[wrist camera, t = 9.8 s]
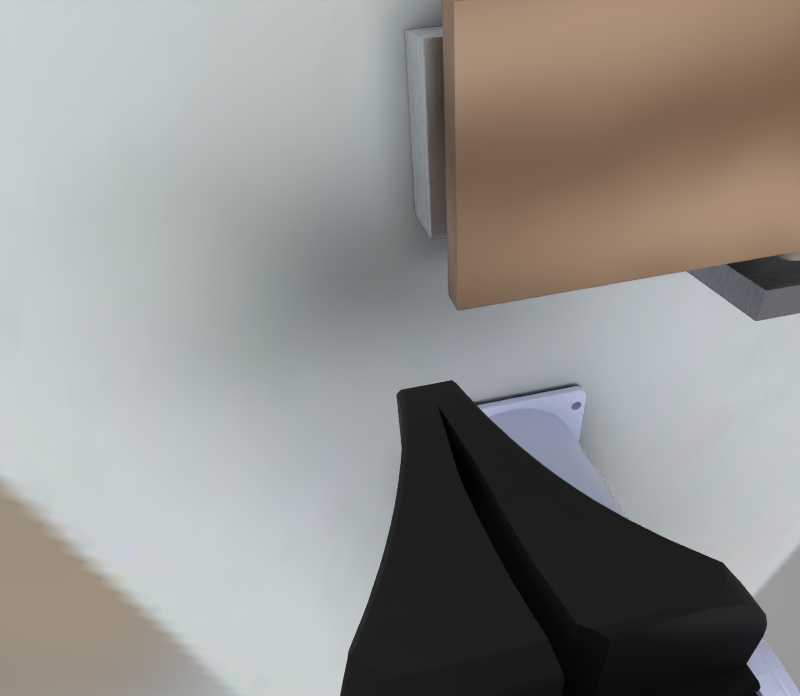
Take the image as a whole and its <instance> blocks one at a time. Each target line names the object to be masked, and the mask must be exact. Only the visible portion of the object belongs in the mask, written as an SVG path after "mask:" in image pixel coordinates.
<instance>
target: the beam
mask: <svg viewBox="0 0 800 696" xmlns="http://www.w3.org/2000/svg"><path fill="white" fill-rule="evenodd" d="M442 28H443V71H444V115H445V158H446V202H447V245H448V289H449V296H450V298H451V300H452V302H453V303H454V305H455V307H456V309H457V310H458V311H459V310H465V309H471V308H476V307H482V306H488V305H493V304H499V303H505V302H511V301H516V300H522V299H528V298H534V297H539V296H545V295H551V294H557V293H562V292H568V291H574V290H580V289H585V288H591V287H597V286H603V285H608V284H614V283H620V282H626V281H631V280H637V279H643V278H649V277H654V276H660V275H666V274H672V273H677V272H683V271H689V270H695V269H700V268H706V267H712V266H718V265H723V264H729V263H735V262H741V261H746V260H752V259H758V258H764V257H769V256H775V255H776V256H778V257H780V258H782V259H785V260H791V261H800V0H442Z"/></svg>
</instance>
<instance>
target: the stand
mask: <svg viewBox="0 0 800 696" xmlns="http://www.w3.org/2000/svg"><path fill="white" fill-rule="evenodd" d="M405 44H406V61H407V78H408V96H409V113H410V130H411V148H412V165H413V182H414V199H415V214H416V215H417V217H418V219H419V220H420V222H421V223H422V225H423V227H424V228H425V230H426V232H427V233H428V235H429V237H430V238H431V240H435V239H442V238H447V202H446V158H445V115H444V71H443V28H442V26H439V27H430V28H420V29H411V30H405ZM687 272H688V273H690V274H691V275H692V276H694V277H695V278H697V279H698V280H699V281H701V282H702V283H703V284H705V285H706V286H708V287H709V288H710V289H712V290H713V291H715V292H716V293H717V294H719V295H720V296H721V297H723V298H724V299H726V300H727V301H728V302H730V303H731V304H733V305H734V306H735V307H737V308H738V309H740V310H741V311H742V312H744V313H745V314H746V315H748V316H749V317H751V318H752V319H753V320H755V321H759V320H765V319H770V318H775V317H781V316H786V315H792V314H797V313H800V261H791V260H785V259H782V258H780V257H778V256H776V255H775V256H769V257H764V258H758V259H752V260H746V261H741V262H735V263H729V264H723V265H718V266H712V267H706V268H700V269H695V270H689V271H687Z"/></svg>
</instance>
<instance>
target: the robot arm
mask: <svg viewBox="0 0 800 696" xmlns="http://www.w3.org/2000/svg"><path fill="white" fill-rule="evenodd" d="M585 402H586V392H585V391H584V390H583V388H582V387H580V386H574V387H569V388H564V389H559V390H554V391H549V392H543V393H538V394H533V395H528V396H523V397H518V398H512V399H507V400H502V401H497V402H492V403H487V404H481V405H476V404H475V403H474V402H473V401H472V400H471V399H470V398H469V397H468V396H467V395H466V394H465V392H464V391H463V390H462V389H461V388H460V387H459V386H458V385H457V384H456V383H455V382H454V381H452V380H451V381H445V382H440V383H435V384H429V385H424V386H419V387H413V388H408V389H403V390H400V391H399V392H398V394H397V404H398V414H399V424H400V434H401V445H402V454H401V465H400V473H399V482H398V489H397V495H396V501H395V507H394V512H393V516H392V521H391V526H390V530H389V534H388V538H387V542H386V546H385V550H384V553H383V557H382V561H381V564H380V567H379V570H378V573H377V576H376V579H375V582H374V585H373V588H372V591H371V594H370V598H369V601H368V603H367V606H366V609H365V611H364V614H363V616H362V619H361V621H360V624H359V626H358V629H357V631H356V634H355V636H354V639H353V641H352V644H351V646H350V649H349V652H348V659H347V664H346V669H345V673H344V678H343V683H342V689H341V694H340V696H800V692H799V691H798V689H797V687H796V686H795V684H794V683H793V681H792V679H791V678H790V676H789V675H788V673H787V672H786V670H785V669H784V667H783V666H782V664H781V663H780V661H779V660H778V658H777V657H776V655H775V654H774V652H773V651H772V649H771V648H770V646H769V645H768V644H767V642H766V641H765V639H764V638H763V635H764V633H765V630H766V626H767V620H766V614H765V613H764V612H763V610H762V609H761V608H760V606H759V605H758V604H757V603H756V601H755V600H754V599H753V597H752V596H751V595H750V593H749V592H748V591H747V590H746V588H745V587H744V586H743V585H742V583H741V582H740V581H739V580H738V579H737V578H736V577H735V576H734V575H733V574H732V573H731V571H730V570H729V569H728V568H727V567H726V566H725V565H724V563H722V562H720V561H718V560H715V559H713V558H711V557H708V556H706V555H703V554H701V553H699V552H696V551H694V550H692V549H689V548H687V547H685V546H682V545H680V544H678V543H675V542H673V541H671V540H669V539H666V538H664V537H662V536H660V535H658V534H656V533H654V532H652V531H650V530H648V529H646V528H644V527H642V526H640V525H638V524H636V523H634V522H632V521H630V520H629V519H628V518H627V516H626V515H625V513H624V512H623V510H622V509H621V507H620V506H619V504H618V503H617V501H616V500H615V498H614V497H613V495H612V494H611V492H610V491H609V489H608V488H607V486H606V485H605V483H604V482H603V480H602V478H601V477H600V475H599V474H598V472H597V471H596V469H595V468H594V466H593V465H592V463H591V462H590V460H589V459H588V457H587V456H586V454H585V453H584V451H583V450H582V448H581V447H580V445H579V438H580V432H581V426H582V420H583V414H584V408H585ZM574 403H575V404H574Z"/></svg>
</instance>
